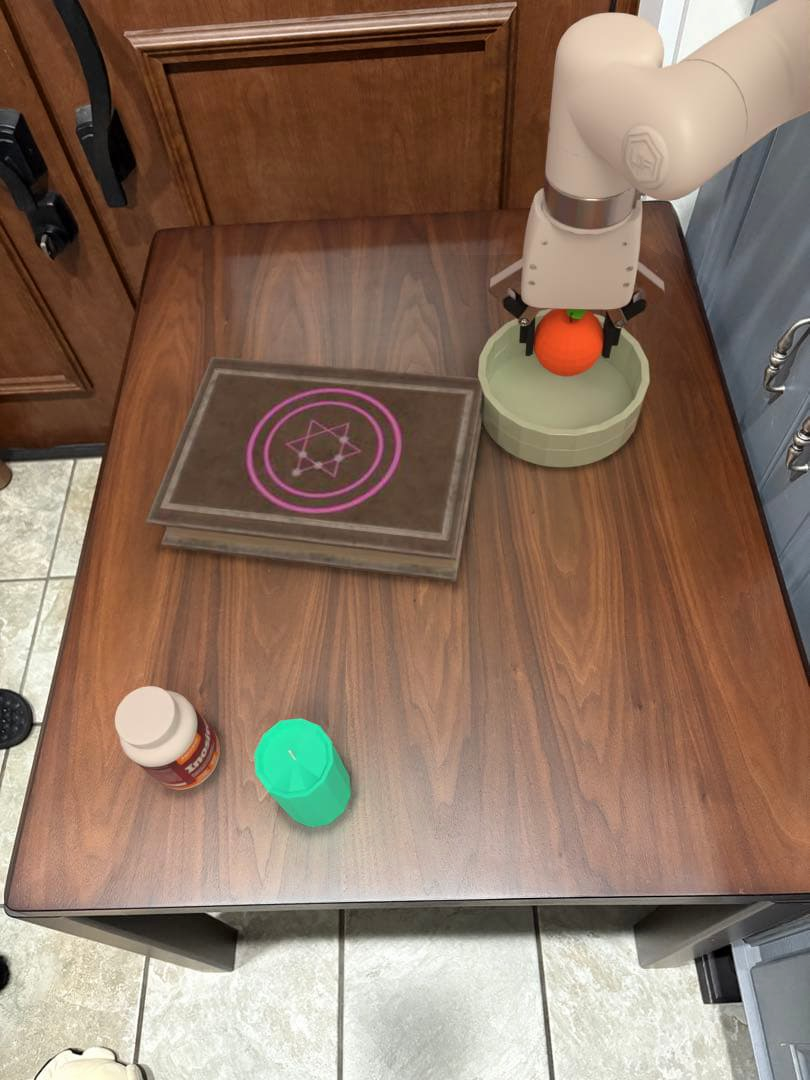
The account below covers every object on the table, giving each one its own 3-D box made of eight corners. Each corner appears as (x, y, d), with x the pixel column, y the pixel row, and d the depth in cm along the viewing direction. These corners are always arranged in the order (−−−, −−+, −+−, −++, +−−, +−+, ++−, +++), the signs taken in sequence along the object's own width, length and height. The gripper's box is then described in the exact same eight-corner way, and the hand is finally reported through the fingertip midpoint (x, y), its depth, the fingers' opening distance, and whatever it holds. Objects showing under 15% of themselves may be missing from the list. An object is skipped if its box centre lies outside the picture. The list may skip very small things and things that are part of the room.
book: (162, 546, 82) (145, 521, 77) (224, 383, 93) (212, 352, 88) (456, 582, 77) (455, 557, 73) (485, 405, 88) (485, 374, 84)
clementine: (561, 325, 85) (568, 272, 79) (617, 353, 82) (629, 300, 76) (517, 371, 82) (521, 319, 76) (574, 401, 79) (583, 350, 73)
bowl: (636, 346, 91) (645, 310, 86) (643, 471, 82) (653, 438, 78) (482, 342, 93) (483, 306, 88) (473, 463, 84) (473, 431, 80)
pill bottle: (214, 793, 68) (174, 757, 59) (145, 789, 69) (94, 754, 59) (227, 722, 71) (191, 678, 62) (161, 719, 72) (115, 675, 63)
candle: (272, 773, 69) (238, 731, 58) (336, 744, 70) (314, 698, 59) (295, 839, 66) (263, 807, 56) (361, 809, 67) (342, 772, 56)
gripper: (695, 162, 66) (653, 322, 81) (485, 162, 68) (482, 318, 83) (703, 221, 62) (657, 377, 77) (480, 219, 64) (478, 372, 79)
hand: (567, 346), depth 80 cm, fingers closed on clementine, 7 cm apart
